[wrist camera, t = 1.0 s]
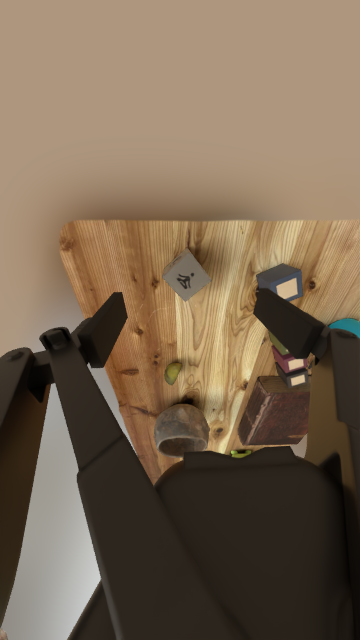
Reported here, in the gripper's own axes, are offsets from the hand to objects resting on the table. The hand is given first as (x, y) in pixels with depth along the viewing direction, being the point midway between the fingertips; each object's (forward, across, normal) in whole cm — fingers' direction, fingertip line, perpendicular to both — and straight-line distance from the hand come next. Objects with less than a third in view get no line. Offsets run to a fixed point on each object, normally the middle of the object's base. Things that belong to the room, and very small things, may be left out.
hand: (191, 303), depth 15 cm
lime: (+13, -2, -23) cm, 26 cm away
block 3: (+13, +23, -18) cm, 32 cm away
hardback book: (+13, +29, -42) cm, 53 cm away
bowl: (+13, -1, -42) cm, 44 cm away
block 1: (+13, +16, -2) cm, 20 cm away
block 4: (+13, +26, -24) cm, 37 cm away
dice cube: (+13, 0, 0) cm, 13 cm away
